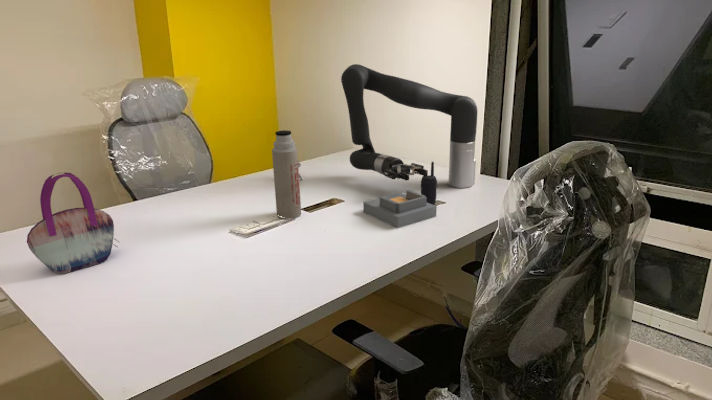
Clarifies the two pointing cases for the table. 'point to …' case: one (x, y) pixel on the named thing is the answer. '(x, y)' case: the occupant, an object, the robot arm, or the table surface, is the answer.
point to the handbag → (71, 232)
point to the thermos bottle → (286, 175)
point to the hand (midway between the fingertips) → (417, 175)
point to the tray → (400, 208)
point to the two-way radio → (429, 186)
